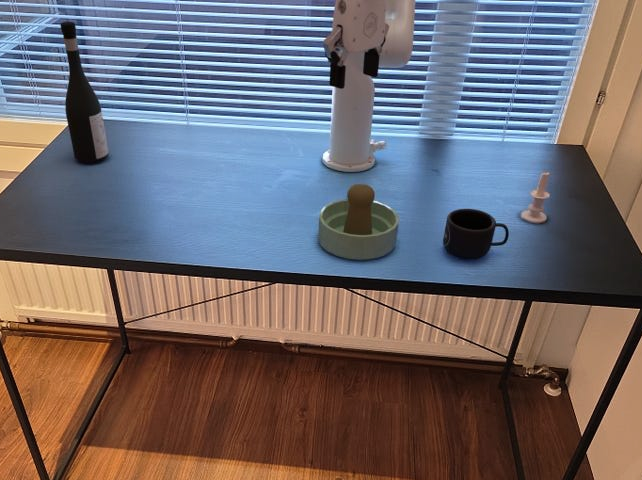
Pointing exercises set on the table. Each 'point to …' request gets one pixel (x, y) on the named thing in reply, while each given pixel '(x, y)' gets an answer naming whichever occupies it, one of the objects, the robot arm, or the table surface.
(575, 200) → the table surface
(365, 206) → the brown rounded tall piece
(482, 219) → the mug
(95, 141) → the wine bottle
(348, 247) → the bowl
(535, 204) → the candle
